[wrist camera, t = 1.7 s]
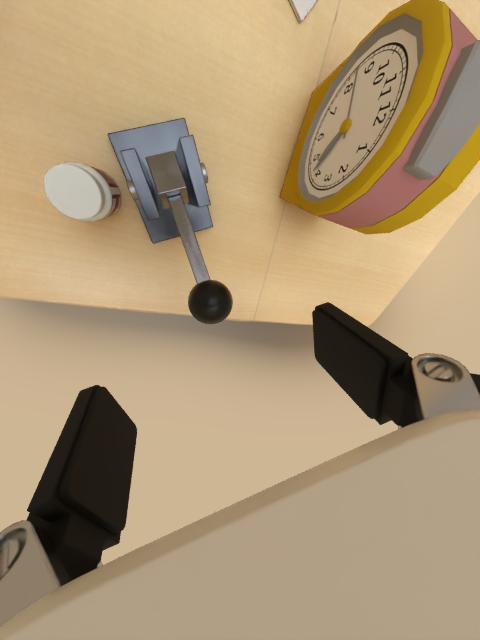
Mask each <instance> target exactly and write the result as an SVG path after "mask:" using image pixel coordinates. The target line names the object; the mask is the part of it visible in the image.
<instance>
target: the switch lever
mask: <svg viewBox="0 0 480 640" xmlns="http://www.w3.org/2000/svg"><path fill="white" fill-rule="evenodd" d="M146 161H147V164H148V167H149V170H150V173H151V176H152V178H153V181H154V184H155V187H156V190H157V193H158V195H159V198H160V200H161V203H162V206H163V208H164V209H167V208H171V211H172V213H173V216H174V219H175V222H176V225H177V228H178V231H179V234H180V236H181V239H182V242H183V245H184V248H185V251H186V254H187V257H188V259H189V262H190V265H191V268H192V271H193V274H194V277H195V280H196V282H197V285H195V286H194V287H193V289H192V290H191V292H190V294H189V298H188V306H189V309H190V312H191V314H192V315H193V316H194V317H195V318H196V319H197V320H198V321H200V322H202V323H205V324H216V323H219V322H221V321H223V320H224V319H225V318H226V317H227V316H228V315H229V313H230V312H231V309H232V304H233V300H232V295H231V293H230V291H229V290H228V288H227V287H226V286H225V285H224V284H222V283H221V282H218V281H215V280H210V277H209V274H208V271H207V268H206V266H205V263H204V260H203V257H202V254H201V251H200V248H199V245H198V242H197V239H196V236H195V234H194V231H193V228H192V225H191V222H190V219H189V216H188V213H187V210H186V207H185V204H186V203H189V198H188V191H187V186H186V183H185V180H184V177H183V174H182V171H181V168H180V165H179V162H178V159H177V156H176V153H175V151H169V152H165V153H160V154H156V155H152V156H147V157H146Z"/></svg>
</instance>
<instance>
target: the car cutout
mask: <svg viewBox="0 0 480 640" xmlns="http://www.w3.org/2000/svg"><path fill="white" fill-rule="evenodd" d="M289 2H290V4H291V7H292V9H293V11H294V13H295V15H296V17H297V19H298V21H299V24H300V23H301V22H302V20H303V19H304V18H305V16H306V15H307V14H308V12H309V11H310V10H311V8H312V7H313V6H314V4H315V3H316V2H317V0H289Z"/></svg>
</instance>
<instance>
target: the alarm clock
mask: <svg viewBox="0 0 480 640" xmlns="http://www.w3.org/2000/svg"><path fill="white" fill-rule="evenodd" d="M479 160H480V41H479V40H477V39H476V38H475V37H474V35H473V34H472V33H471V32H470V31H469V30H468V29H467V27H466V26H465V25H464V24H463V23H462V22H461V21H460V19H459V18H458V17H457V16H456V15H455V14H454V13H453V12H452V10H451V9H450V8H449V7H448V6H447V5H446V4H445V3H444V2H441V1H439V0H411V1H409V2H407V3H405V4H404V5H402V6H400V7H398V8H396V9H395V10H393V11H391V12H389V13H388V14H387V15H386V17H385V18H384V19H383V20H382V21H381V22H380V23H379V24H378V25H377V26H376V27H375V28H374V29H373V30H372V31H371V32H370V33H369V34H368V35H367V36H366V37H365V38H364V39H363V40H362V41H361V42H360V43H359V45H358V46H357V47H356V49H355V50H354V51H353V53H352V54H351V55H350V56H349V57H348V58H347V59H346V60H345V61H344V62H343V63H342V64H341V65H340V66H339V67H338V68H337V69H336V70H335V71H334V72H333V73H332V74H331V75H330V76H328V77H327V78H326V79H325V80H324V81H323V82H322V83H321V84H320V85H319V86H318V87H317V88H316V89H315V90H314V91H313V92H312V95H311V98H310V102H309V105H308V108H307V111H306V114H305V118H304V121H303V124H302V127H301V130H300V133H299V137H298V140H297V143H296V146H295V149H294V153H293V156H292V159H291V162H290V165H289V168H288V172H287V175H286V178H285V181H284V184H283V188H282V191H281V194H280V197H281V198H283V199H285V200H286V201H288V202H290V203H292V204H294V205H296V206H298V207H300V208H302V209H304V210H306V211H308V212H310V213H312V214H313V215H316V216H318V217H321V218H324V219H326V220H329V221H332V222H334V223H337V224H340V225H342V226H345V227H348V228H351V229H353V230H356V231H359V232H361V233H364V234H378V233H390V232H392V231H394V230H396V229H399V228H401V227H403V226H405V225H407V224H409V223H412V222H414V221H416V220H418V219H420V218H422V217H423V216H424V215H425V214H427V213H428V212H429V211H430V210H432V209H433V208H434V207H435V206H436V205H438V204H439V203H440V202H441V201H443V200H444V199H445V198H446V197H448V196H449V195H450V194H451V193H452V192H454V191H455V190H456V189H457V188H458V187H459V185H460V184H461V183H462V182H463V180H464V179H465V178H466V176H467V175H468V174H469V173H470V171H471V170H472V169H473V168H474V166H475V165H476V164H477V162H478V161H479Z"/></svg>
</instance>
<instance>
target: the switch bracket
mask: <svg viewBox="0 0 480 640" xmlns="http://www.w3.org/2000/svg"><path fill="white" fill-rule="evenodd" d="M108 136H109V139H110V141H111V144H112V146H113V148H114V151H115V153H116V156H117V158H118V161H119V163H120V165H121V168H122V170H123V173H124V175H125V178H126V180H127V185H128V188H129V190H130V193H131V195H132V197H133V199H134V200H135V202H136V204H137V207H138V209H139V211H140V214H141V216H142V219H143V221H144V224H145V226H146V228H147V231H148V233H149V236H150V238H151V240H152V243H157V242H160V241H164V240H168V239H171V238H175V237H178V236H180V234H179V231H178V228H177V225H176V222H175V219H174V216H173V213H172V211H171V208H167V209H164V208H163V206H162V203H161V200H160V198H159V195H158V193H157V190H156V187H155V184H154V181H153V178H152V176H151V173H150V170H149V167H148V164H147V161H146V157H147V156H152V155H156V154H160V153H165V152H169V151H175V153H176V156H177V159H178V162H179V165H180V168H181V171H182V174H183V177H184V180H185V183H186V186H187V191H188V198H189V203H186V204H185V207H186V210H187V213H188V216H189V219H190V222H191V225H192V228H193V231H194V232H196V231H199V230H203V229H206V228H210V227H213V224H212V221H211V217H210V213H209V209H208V205H211V204H210V200H209V196H208V192H207V188H206V184H205V183H207V182H208V176H207V172H206V168H205V165H204V163H203V162H202V163H200V160H199V156H198V153H197V149H196V145H195V141H194V137H193V135H189V133H188V129H187V125H186V121H185V118H181V119H176V120H171V121H167V122H162V123H157V124H152V125H147V126H143V127H138V128H133V129H128V130H123V131H119V132H114V133H109V134H108Z"/></svg>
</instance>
